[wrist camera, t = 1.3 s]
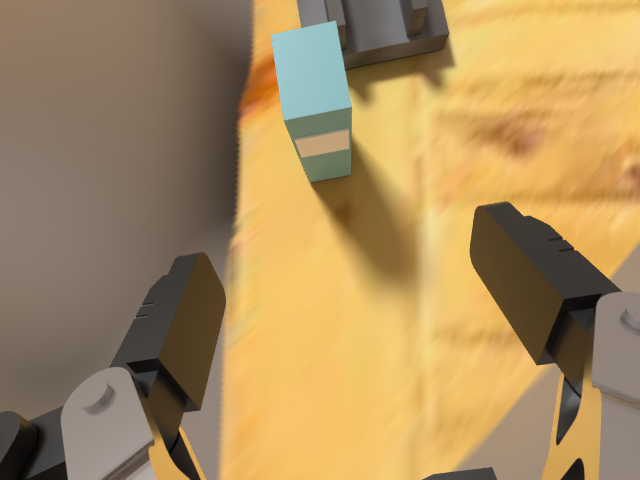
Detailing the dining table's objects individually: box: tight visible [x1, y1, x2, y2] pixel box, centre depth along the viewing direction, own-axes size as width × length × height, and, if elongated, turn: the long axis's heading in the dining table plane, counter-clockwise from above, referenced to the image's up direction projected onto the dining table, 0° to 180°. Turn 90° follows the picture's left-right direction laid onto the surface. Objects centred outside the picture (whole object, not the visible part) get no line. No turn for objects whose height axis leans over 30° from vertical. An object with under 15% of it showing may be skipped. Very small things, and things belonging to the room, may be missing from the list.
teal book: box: [271, 21, 352, 182], centre depth 25 cm, size 4×6×12 cm
